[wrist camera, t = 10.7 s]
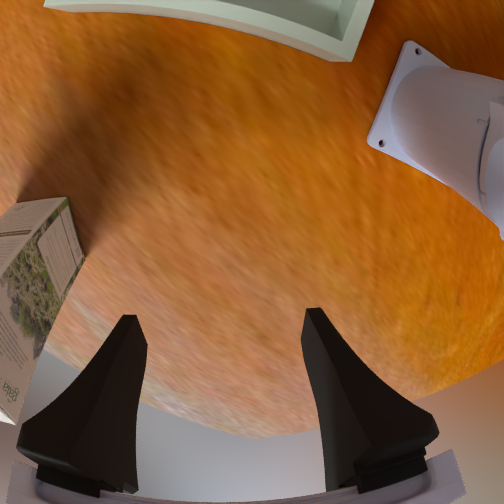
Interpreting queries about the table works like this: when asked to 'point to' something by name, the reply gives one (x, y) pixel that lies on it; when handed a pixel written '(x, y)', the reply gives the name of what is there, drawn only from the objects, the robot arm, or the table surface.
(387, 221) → the table surface
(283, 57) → the table surface
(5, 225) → the syrup box
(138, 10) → the pale green tray
